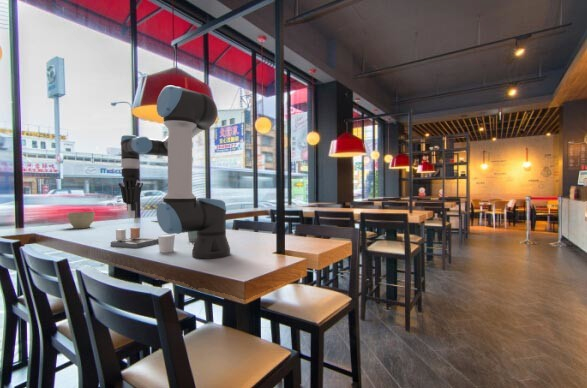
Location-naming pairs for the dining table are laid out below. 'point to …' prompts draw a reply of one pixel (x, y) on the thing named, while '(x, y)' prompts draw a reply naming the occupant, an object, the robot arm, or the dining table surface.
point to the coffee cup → (192, 236)
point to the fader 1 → (121, 234)
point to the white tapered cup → (166, 243)
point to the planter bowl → (81, 219)
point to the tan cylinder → (135, 232)
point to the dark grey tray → (134, 242)
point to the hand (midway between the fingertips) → (131, 217)
